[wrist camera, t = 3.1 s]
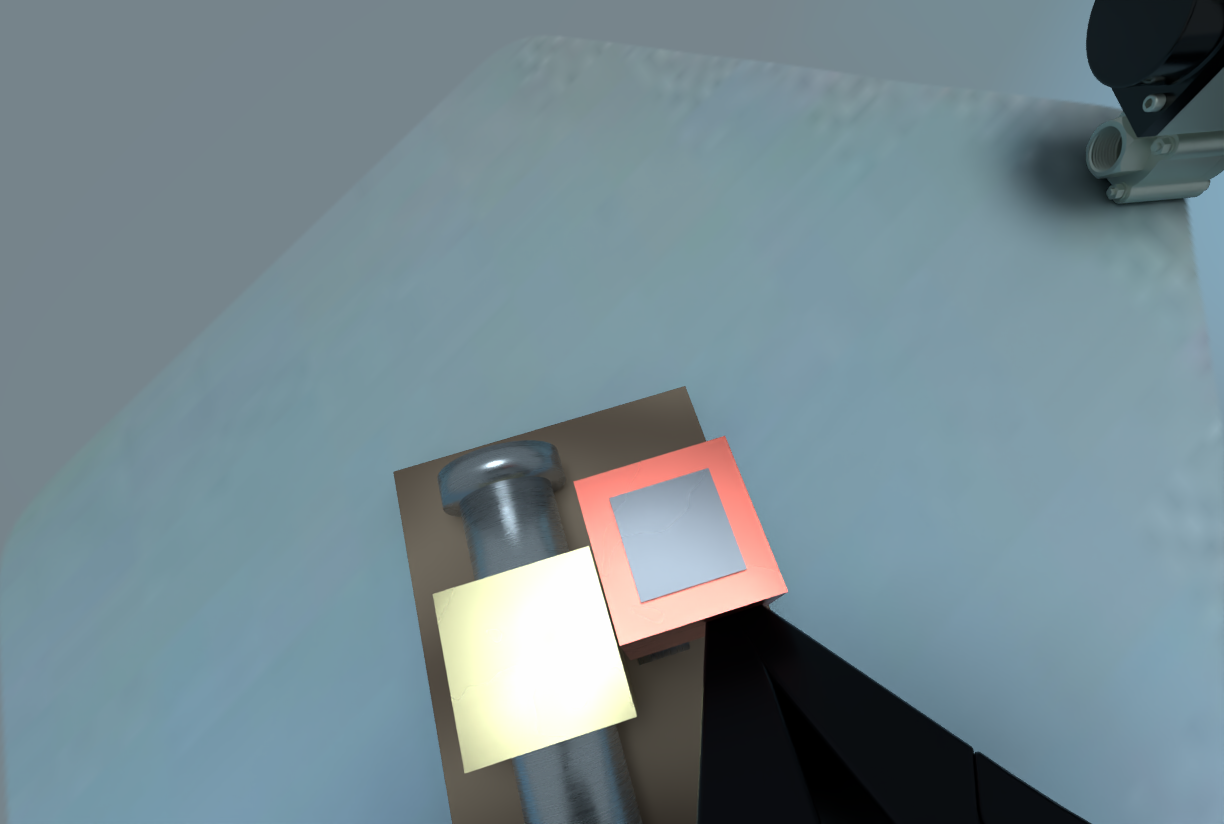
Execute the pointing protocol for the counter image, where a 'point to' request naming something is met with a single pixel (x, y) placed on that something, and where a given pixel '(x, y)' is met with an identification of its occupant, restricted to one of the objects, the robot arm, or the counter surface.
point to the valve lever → (676, 547)
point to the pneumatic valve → (1158, 96)
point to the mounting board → (587, 446)
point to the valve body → (534, 643)
